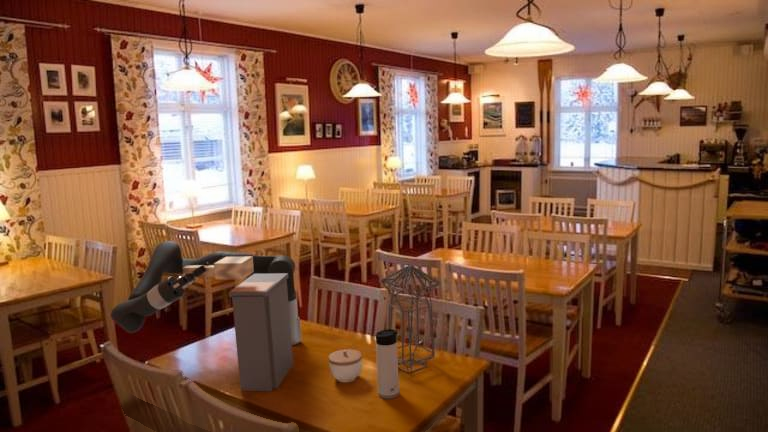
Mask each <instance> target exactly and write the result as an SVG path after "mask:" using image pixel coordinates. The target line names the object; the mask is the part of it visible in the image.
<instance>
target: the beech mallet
mask: <svg viewBox="0 0 768 432" xmlns="http://www.w3.org/2000/svg"><path fill="white" fill-rule="evenodd" d="M200 266H202V265H187V266H185V267H183V274H182V275H184V274H186V273H190V272H191V271H194V270H195V269H197V268H199V267H200ZM204 267H205V268H206V271H205V272H204V273H202V274H201V275H199V276H198V278H210V277H211V278H215V280H244V279H247V277H248V276H251V275H250V274H251V273H253V272H254V267H253V256H245V257H225V258H223V259H221V260H219V261H218V262H216V263H214V265H204Z"/></svg>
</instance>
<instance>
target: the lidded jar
mask: <svg viewBox="0 0 768 432" xmlns="http://www.w3.org/2000/svg"><path fill="white" fill-rule="evenodd" d="M328 364H329V365H328V366H329V370H330V373H331V375H332V376H333V377H334V378H335V379H337V381H338V382H340V383H350V382H354V381H355V380H356V379H357V377H358V376H359V375H360V373H361V371H362V368H363V367H362V366H363V365H362V364H363V355H362V352H361V351H359V350H356V349H340V350H336V351H334V352H331V353H330V354H329V355H328Z"/></svg>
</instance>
